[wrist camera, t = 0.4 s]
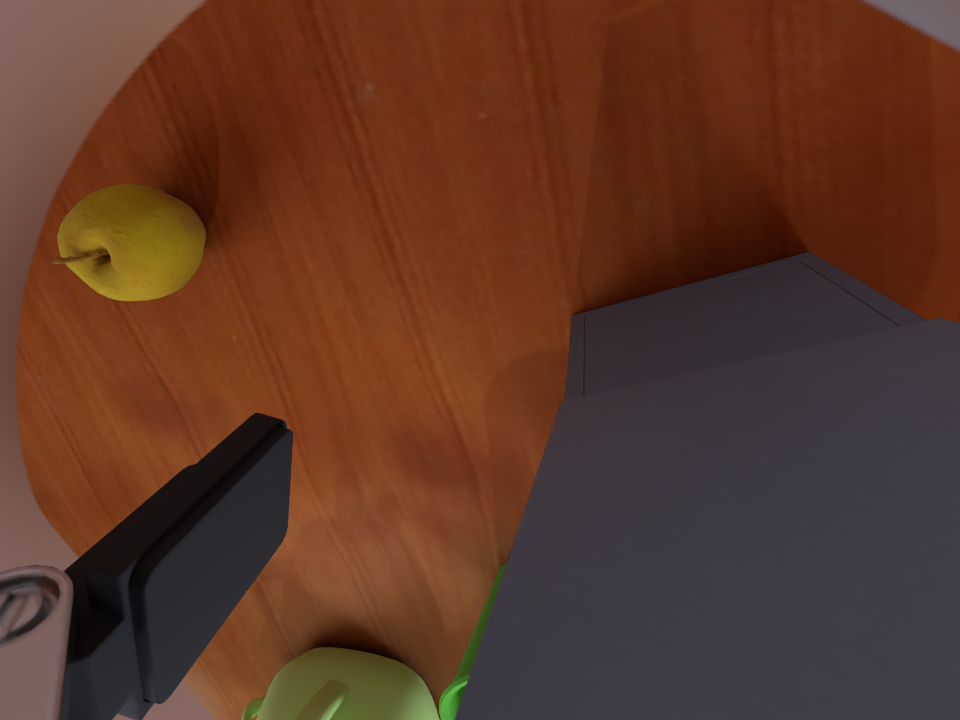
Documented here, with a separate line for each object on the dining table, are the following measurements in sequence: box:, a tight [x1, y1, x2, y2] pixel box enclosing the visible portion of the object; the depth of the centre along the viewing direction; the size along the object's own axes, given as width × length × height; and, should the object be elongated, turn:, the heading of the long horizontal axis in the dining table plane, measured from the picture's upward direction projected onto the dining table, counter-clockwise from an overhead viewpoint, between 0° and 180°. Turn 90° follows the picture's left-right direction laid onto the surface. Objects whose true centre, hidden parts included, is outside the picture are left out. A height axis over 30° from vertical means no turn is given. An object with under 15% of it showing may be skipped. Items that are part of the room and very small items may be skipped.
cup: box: [439, 561, 508, 720], centre depth 35 cm, size 9×9×11 cm
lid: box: [455, 318, 960, 720], centre depth 11 cm, size 16×13×1 cm
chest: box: [565, 252, 928, 400], centre depth 26 cm, size 16×13×11 cm
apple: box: [52, 184, 206, 301], centre depth 29 cm, size 6×6×8 cm
